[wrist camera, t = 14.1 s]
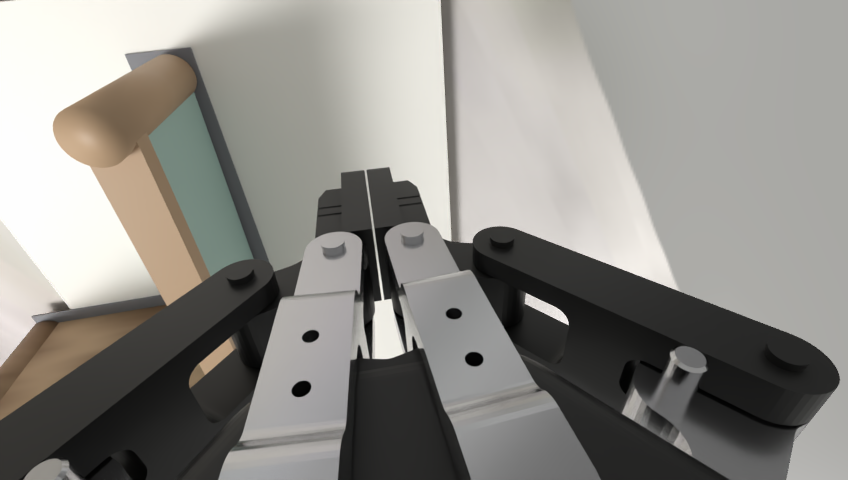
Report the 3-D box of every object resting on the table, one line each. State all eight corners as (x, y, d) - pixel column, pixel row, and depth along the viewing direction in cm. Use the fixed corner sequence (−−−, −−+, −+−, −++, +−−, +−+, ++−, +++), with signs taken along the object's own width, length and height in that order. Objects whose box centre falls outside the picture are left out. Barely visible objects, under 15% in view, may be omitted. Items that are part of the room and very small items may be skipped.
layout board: (436, -40, 18) (439, -40, 17) (454, 342, 31) (456, 349, 31) (-202, 20, 15) (-223, 23, 15) (119, 404, 29) (114, 413, 29)
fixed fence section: (264, 283, 25) (238, 400, 18) (273, 305, 26) (251, 423, 19) (27, 322, 24) (-91, 463, 17) (46, 343, 25) (-59, 484, 18)
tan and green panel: (269, 287, 24) (247, 391, 19) (237, 291, 24) (206, 398, 18) (187, 52, 17) (110, 102, 11) (141, 55, 17) (38, 109, 11)
